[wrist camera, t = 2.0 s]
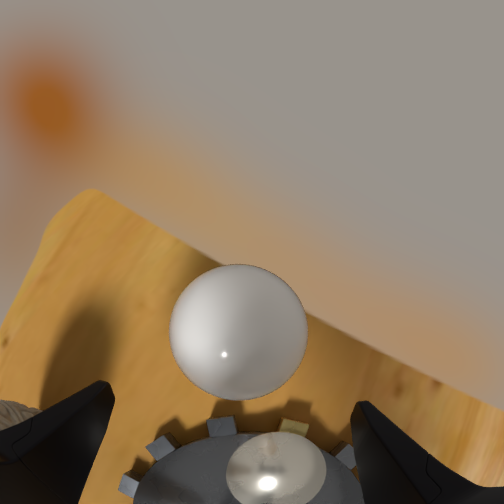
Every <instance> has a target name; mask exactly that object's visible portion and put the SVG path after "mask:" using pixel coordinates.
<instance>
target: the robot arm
mask: <svg viewBox="0 0 504 504" xmlns="http://www.w3.org/2000/svg"><path fill="white" fill-rule="evenodd" d="M114 403H115V396H114V394H113V391H112V388H111V385H110V384H109V383H108V382H106V381H102V380H99V381H97V382H95V383H93V384H91V385H89V386H88V387H86V388H84V389H82V390H81V391H79V392H77V393H75V394H73V395H71V396H70V397H68V398H66V399H64V400H62V401H61V402H59V403H57V404H55V405H53V406H51V407H49V408H48V409H46V410H44V411H42V412H40V413H38V414H36V415H34V416H33V417H30V418H28V419H27V420H25V421H22V422H20V423H18V424H16V425H14V426H11V427H9V428H6V429H3V430H1V431H0V504H78V502H79V500H80V497H81V494H82V491H83V488H84V486H85V483H86V480H87V478H88V475H89V473H90V470H91V467H92V465H93V462H94V460H95V457H96V455H97V452H98V450H99V447H100V445H101V443H102V440H103V438H104V435H105V433H106V430H107V426H108V423H109V420H110V416H111V413H112V409H113V406H114ZM350 422H351V431H352V440H353V450H354V457H355V462H356V466H357V471H358V475H359V480H360V484H361V489H362V494H363V499H364V504H504V487H482V486H479V485H476V484H474V483H472V482H470V481H469V480H467V479H465V478H464V477H462V476H460V475H459V474H457V473H455V472H454V471H452V470H451V469H449V468H448V467H446V466H445V465H443V464H442V463H441V462H439V461H438V460H437V459H436V458H434V457H433V456H432V455H431V454H428V452H427V451H426V450H425V449H423V448H422V447H421V446H420V445H419V444H417V443H416V442H415V441H414V440H413V439H412V438H410V437H409V436H408V435H407V434H406V433H404V432H403V431H402V430H401V429H400V428H399V427H398V426H396V425H395V424H394V423H393V422H392V421H391V420H389V419H388V418H387V417H386V416H385V415H384V414H383V413H381V412H380V411H379V410H378V409H377V408H376V407H375V406H374V405H372V404H371V403H370V402H369V401H359V402H357V403H356V405H355V407H354V410H353V412H352V414H351V418H350Z"/></svg>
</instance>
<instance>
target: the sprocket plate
mask: <svg viewBox="0 0 504 504" xmlns="http://www.w3.org/2000/svg"><path fill="white" fill-rule="evenodd" d="M206 421H207V426H208V430H209V435H210V436H208V437H204V438H201V439H197V440H195V441H192V442H190V443H187V444H185V445H183V446H181V447H180V444H179V443H178V442H177V441H176V440H175V439H174V437H173V436H172V435H171V434H170V433H167V434H165V435H163V436H161V437H160V438H158V439H157V440H155V441H154V442H152V443H150V444H149V445H147V446H146V448H147V450H148V451H149V452H150V453H151V455H152V456H153V457H154V458H155V459H156V460H157V461H158V460H159V459H160V460H159V461H158V462H156V463H155V464H154V465H153V466H152V467H151V468H150V469H149V470H148V471H147V472H146V474H145V475H144V476H142V475H140V474H138V473H136V472H134V471H132V470H130V471H128V472H126V473H124V474H123V476H122V479H121V482H120V485H119V489H118V490H119V491H120V492H122V493H124V494H126V495H128V496H129V497H131V498H134V501H133V504H364V499H363V494H362V489H361V485H360V483H359V481H358V480H357V478H356V477H355V476H354V474H353V473H352V472H351V471H350V470H351V469H353V468H354V467H355V466H356V462H355V457H354V450H353V447H352V446H351V445H350V444H348V443H346V442H344V441H341V442H340V443H339V444H338V445H337V446H336V447H335V448H334V449H333V450H332V451H331V452H330V454H329V453H328V452H326V451H324V450H323V449H321V448H319V447H317V446H316V445H315V444H313V443H312V442H311V441H310V440H308V439H306V438H305V436H306V433H307V430H308V427H309V424H307V423H305V422H300V421H296V420H292V419H288V418H284V417H281V420H280V422H279V425H278V428H277V431H276V432H269V433H267V432H257V431H255V432H246V431H241V432H238V429H237V424H236V420H235V415H229V416H222V417H214V418H209V419H207V420H206ZM178 447H179V448H178ZM175 449H176V450H175ZM173 450H174V451H173ZM332 455H333V456H334V457H333V456H332ZM161 458H162V459H161ZM348 468H349V469H350V470H349V469H348Z"/></svg>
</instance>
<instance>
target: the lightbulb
mask: <svg viewBox="0 0 504 504" xmlns="http://www.w3.org/2000/svg"><path fill="white" fill-rule="evenodd" d="M169 341H170V346H171V350H172V353H173V356H174V359H175V361H176V363H177V365H178V366H179V368H180V369H181V371H182V372H183V374H184V375H185V376H186V377H187V378H188V379H189V380H190V381H191V382H192V383H193V384H194V385H195V386H197V387H198V388H200V389H201V390H203V391H205V392H206V393H208V394H211V395H213V396H216V397H219V398H223V399H227V400H251V399H256V398H259V397H263V396H265V395H268V394H270V393H272V392H274V391H275V390H277V389H278V388H280V387H281V386H282V385H284V384H285V383H286V382H287V381H288V380H289V379H290V378H291V377H292V376H293V374H294V373H295V372H296V370H297V369H298V367H299V365H300V364H301V362H302V359H303V357H304V354H305V351H306V347H307V341H308V324H307V318H306V314H305V311H304V308H303V306H302V304H301V302H300V300H299V298H298V297H297V295H296V294H295V292H294V291H293V290H292V289H291V287H289V285H288V284H287V283H286V282H284V281H283V280H282V279H281V278H279V277H278V276H276V275H275V274H273V273H271V272H269V271H267V270H265V269H262V268H259V267H256V266H251V265H244V264H232V265H224V266H220V267H217V268H214V269H211V270H209V271H207V272H205V273H203V274H201V275H200V276H198V277H197V278H195V279H194V280H193V281H192V282H191V283H190V284H189V285H188V286H187V287H186V288H185V289H184V290H183V292H182V293H181V294H180V296H179V297H178V299H177V301H176V303H175V305H174V308H173V311H172V314H171V318H170V323H169Z"/></svg>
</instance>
